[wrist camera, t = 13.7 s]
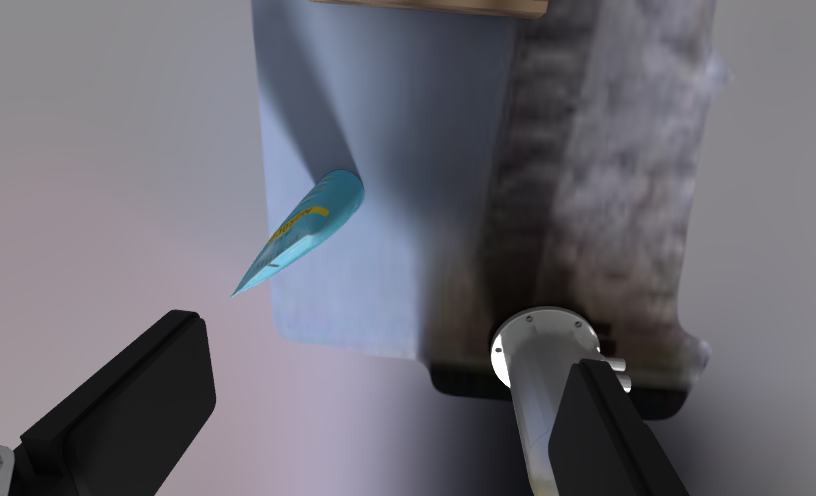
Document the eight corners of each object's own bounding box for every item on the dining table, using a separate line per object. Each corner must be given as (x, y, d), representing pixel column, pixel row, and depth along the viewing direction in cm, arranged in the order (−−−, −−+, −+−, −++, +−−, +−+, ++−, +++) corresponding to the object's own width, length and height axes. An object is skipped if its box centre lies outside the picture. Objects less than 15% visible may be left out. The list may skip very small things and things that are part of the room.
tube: (348, 151, 41) (276, 205, 24) (381, 185, 42) (336, 261, 25) (303, 198, 44) (207, 279, 26) (335, 229, 45) (264, 326, 27)
